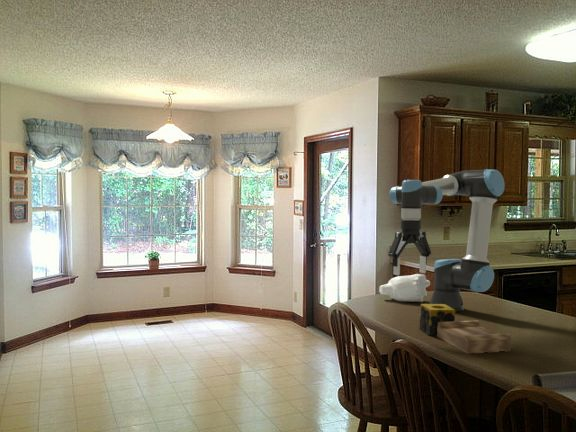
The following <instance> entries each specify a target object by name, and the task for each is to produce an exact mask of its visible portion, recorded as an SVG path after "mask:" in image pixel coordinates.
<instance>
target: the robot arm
mask: <svg viewBox="0 0 576 432" xmlns="http://www.w3.org/2000/svg"><path fill="white" fill-rule="evenodd" d="M504 192H505V180H504V176H503V174H502V173H501V171H499V170H498V169H493V168H492V169H490V168H489V169H488V168H486V169H469V170H468V169H467V170H461V171H457V172H454V173H450V174H446V175H444V176H443V177H442V178H437V179H433V180H432V179H431V180H427V181H422V180H420V179H404V180H403V181H402V182H401V185H397V186H393V187H391V189H390V190H389V193H388V196H389V197H388V198H389V200H390V202H391V203H393V204H396V205H401V208H400V209H401V210H400V211H401V212H400V213H401V215H400V219H401V221H400V229H401V232H400V231H396V232H395V234H394V239H393V241H392V244H391V246H390V249H389V251H388V257H390V258H392V266H393V268H392V269H393V275H395V276H401V275H400V274H401V258H400V255H401V254H402V252H403V251H404V249H405V248H406V246H408V245H409V244H410V245H411V244H414V246H415V247H416V249H417V250H418V252H419V254H420V256H419V267H418V268H419V270H418V271H419V273H420V274H426V272H427V262H428V257H430V255H432V251H431V247H430V245H429V243H428V240H427V233H426V231H421V229H422V221H421V219H422V205H429V206H430V205H431V206H432V205H437V204H440V203H441V202H442V199H443V196H448V197H449V196H451V197H452V196H469V197H468V198H469V200H470V201H471V211H470V212H471V213H470V218H469V219H470V220H469V228H468V234H467V236H468V237H467V242H466V243H467V244H466V251H465V252H466V253H465V256H463V257H462V258H447V259H446V258H445V259H443V258H442V259H437V260H435V261H434V266H433V267H434V268H433V293H432V296H431V299H430V301H429V304H445V305H447V306H449V307H451V308H453V309H455V313H457V312H463V311H464V310H465V309H464V308H465V307H464V306H465V305H464V301H463V299H462V295H461V290H466V291H471V292H474V293H475V292H480V293H481V292H482V293H484V292H486V291H488V290H489V289H490V288H491V286H492V285H493V283H494V280H495V271H494V269H493V267H492V266H490V264H491V262H490V260H488V258H487V257H488V249H489V240H490V231H491V223H492V214H493V208H494V207H493V206H494V204H495V203H496V202H498V197H500V196H501V195H503V193H504Z"/></svg>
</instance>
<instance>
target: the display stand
mask: <svg viewBox="0 0 576 432" xmlns="http://www.w3.org/2000/svg"><path fill="white" fill-rule="evenodd" d="M511 335H512V334H510V333H506V332H505V333H497V332H495V331H493V330H491V329H489V328H486V327H483V326H481V325H480V321H479V320H478V319H477V320H475V319H474V320H454V321H450V322H438V326H437V336H436V337H437V338H439V339H440V340H442V341H444V342H446V343H447V344H449V345H451V346H453V347H454V346H455V348H456V349H458V350H460V351H462V352H463V353H466V354H469V355H470V354H483V353H484V352H488V353H500V352H499V351H505V352H511V349H512V347H511V346H512V345H511V344H512V339H511ZM484 354H485V353H484Z"/></svg>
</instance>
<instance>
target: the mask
mask: <svg viewBox="0 0 576 432" xmlns="http://www.w3.org/2000/svg"><path fill="white" fill-rule="evenodd" d="M429 286H431V281H430V280H428V279H427V276H426V275H425V274H424V273H414V274H411V275H397V276H395V277H391V279H389V280H388V282H387V283H385V284H382V285H379V289H378V292H379V294H380V295H385V296H388V297H390V298H391V299H393V301H397V302H413V303H414V302H415V303H423V302H424V301H425V300H424V297H427V296H428V293H427V292H428V291H427V289H426V288H428V287H429Z"/></svg>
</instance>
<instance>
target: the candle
mask: <svg viewBox="0 0 576 432" xmlns="http://www.w3.org/2000/svg"><path fill="white" fill-rule="evenodd" d="M450 321H456V312H455V309H453V308H451V307H449V306H447V305H445V304H430V303H420V318H419V329H420V330H421V331H422V332H423V333H425V334H427V336H430V337H432V336H433V337H437V326H438V322H450Z"/></svg>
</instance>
